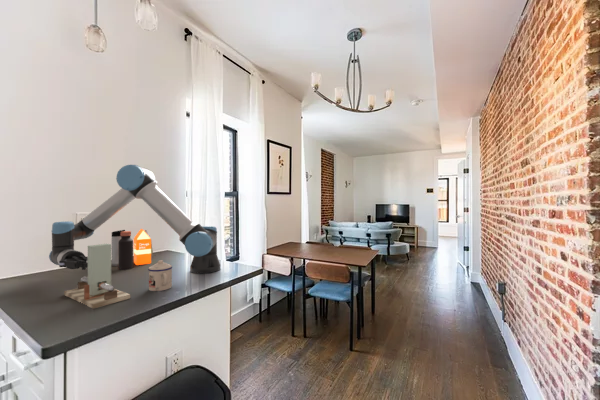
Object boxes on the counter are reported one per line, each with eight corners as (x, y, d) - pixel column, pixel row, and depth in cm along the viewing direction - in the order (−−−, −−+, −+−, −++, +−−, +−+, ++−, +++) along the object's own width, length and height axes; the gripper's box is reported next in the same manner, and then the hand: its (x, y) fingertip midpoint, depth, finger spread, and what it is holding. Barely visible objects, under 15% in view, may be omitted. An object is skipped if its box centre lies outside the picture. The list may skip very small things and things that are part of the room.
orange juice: (148, 260, 171) (148, 228, 171) (151, 263, 164) (151, 229, 164) (133, 262, 166) (133, 229, 166) (136, 265, 159) (136, 230, 159)
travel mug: (123, 265, 159) (123, 230, 159) (110, 266, 157) (110, 230, 157) (126, 263, 165) (126, 229, 165) (113, 264, 162) (113, 229, 162)
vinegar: (136, 267, 155) (136, 231, 155) (125, 270, 148) (125, 232, 148) (126, 266, 156) (126, 230, 156) (115, 269, 150) (115, 232, 150)
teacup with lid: (145, 288, 118) (145, 260, 118) (168, 283, 124) (168, 257, 124) (153, 295, 109) (153, 265, 109) (177, 290, 115) (177, 261, 115)
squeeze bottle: (155, 257, 182) (155, 229, 182) (147, 259, 174) (147, 230, 174) (143, 257, 183) (143, 229, 183) (135, 259, 175) (135, 230, 175)
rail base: (64, 295, 109) (64, 278, 109) (99, 286, 119) (99, 271, 119) (93, 308, 95) (93, 289, 95) (130, 298, 105) (130, 281, 105)
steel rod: (80, 282, 113) (80, 276, 113) (86, 281, 115) (86, 275, 115) (107, 292, 100) (107, 286, 100) (114, 291, 102) (114, 284, 102)
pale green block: (87, 293, 104) (87, 245, 104) (106, 289, 110) (106, 243, 110) (92, 295, 102) (92, 246, 102) (111, 291, 107) (111, 244, 107)
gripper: (89, 264, 125) (114, 272, 112) (52, 271, 114) (74, 279, 101) (89, 248, 125) (114, 253, 112) (52, 252, 114) (74, 259, 101)
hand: (95, 266), depth 107 cm, fingers closed
